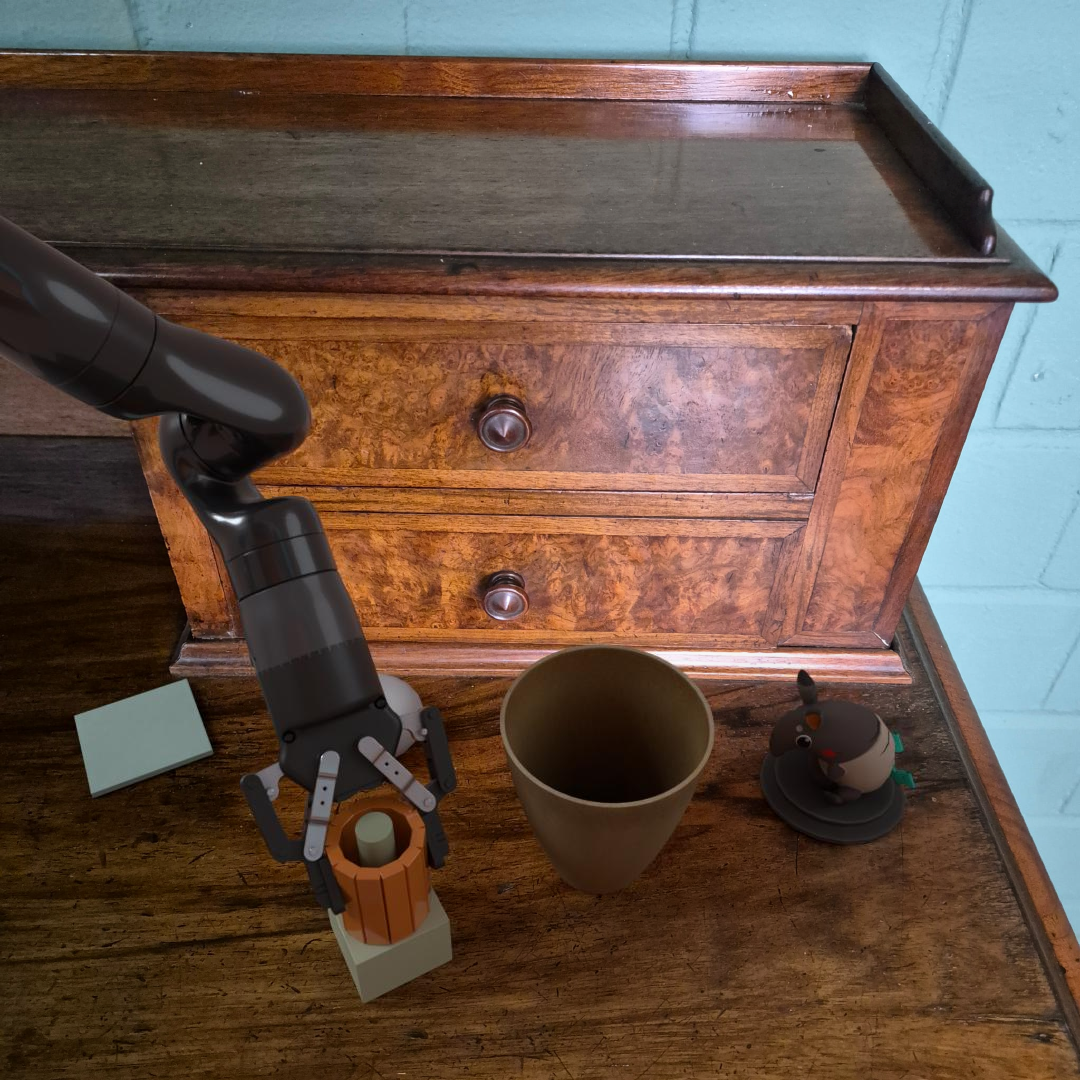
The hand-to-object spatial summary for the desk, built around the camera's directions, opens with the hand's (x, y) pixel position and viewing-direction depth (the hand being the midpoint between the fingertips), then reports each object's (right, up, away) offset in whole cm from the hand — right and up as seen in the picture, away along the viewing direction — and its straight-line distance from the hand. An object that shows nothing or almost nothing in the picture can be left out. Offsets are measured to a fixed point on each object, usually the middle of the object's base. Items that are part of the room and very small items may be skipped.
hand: (389, 888), depth 63 cm
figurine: (+35, +2, +18) cm, 39 cm away
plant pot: (+14, -2, +13) cm, 19 cm away
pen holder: (-1, -2, +3) cm, 4 cm away
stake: (-1, -6, +6) cm, 9 cm away
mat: (-25, +5, +22) cm, 34 cm away
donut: (-5, +6, +23) cm, 24 cm away
